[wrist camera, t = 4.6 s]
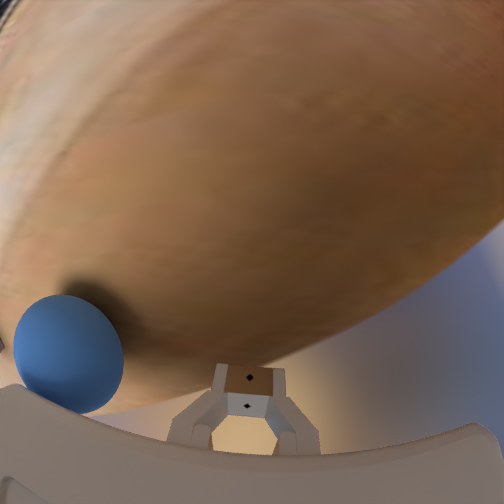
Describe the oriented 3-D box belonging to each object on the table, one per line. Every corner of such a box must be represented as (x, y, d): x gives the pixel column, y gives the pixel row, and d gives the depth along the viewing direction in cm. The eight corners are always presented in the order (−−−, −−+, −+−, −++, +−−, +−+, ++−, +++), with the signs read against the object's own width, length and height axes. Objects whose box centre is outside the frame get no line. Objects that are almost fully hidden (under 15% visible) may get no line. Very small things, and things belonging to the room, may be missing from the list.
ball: (130, 281, 12) (62, 374, 6) (148, 367, 14) (113, 451, 9) (43, 266, 12) (-26, 327, 6) (70, 345, 14) (27, 409, 9)
